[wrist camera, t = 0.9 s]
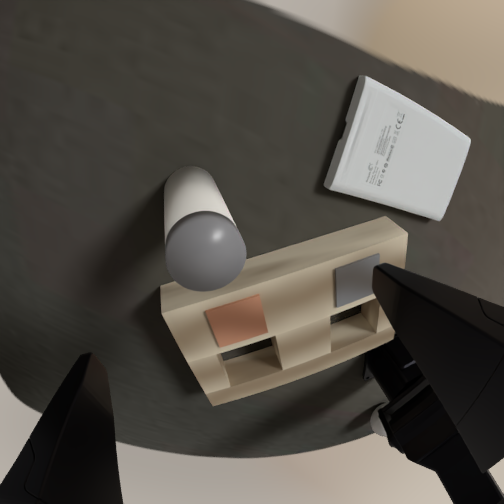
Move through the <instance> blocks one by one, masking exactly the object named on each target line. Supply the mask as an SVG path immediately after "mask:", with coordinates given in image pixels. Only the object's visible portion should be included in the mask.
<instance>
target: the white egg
mask: <svg viewBox="0 0 504 504" xmlns="http://www.w3.org/2000/svg"><path fill="white" fill-rule="evenodd" d="M388 403H389V402H388ZM388 403H384V404H381V405H379V406H378V407H377V408H376V409H375V410H374V411H373V413H372V416H371V418H370V424H371V427H372V430H373V431H374V432H375V433H376V434H378V435H380V436H385V437H387V435H386V432H385V430H384V427H383V425H382V423H381V421H380V419H379V417H378V416H379V413H378V411H377V410H379V409H380V408H383V407H384V406H385V405H387V404H388Z"/></svg>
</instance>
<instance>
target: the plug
mask: <svg viewBox="0 0 504 504" xmlns="http://www.w3.org/2000/svg"><path fill="white" fill-rule="evenodd" d="M164 225H165V256H166V266H167V269H168V272H169V274H170V275H171V277H172V278H173V279H174V280H175V281H176V282H177V283H178V284H179V285H181V286H183V287H184V288H187V289H189V290H193V291H200V292H206V291H213V290H217V289H220V288H222V287H224V286H226V285H228V284H229V283H231V282H232V281H233V280H234V279H235V278H236V277H237V276H238V275H239V274H240V272H241V271H242V269H243V267H244V264H245V261H246V247H245V244H244V241H243V239H242V237H241V235H240V233H239V231H238V229H237V227H236V225H235V223H234V221H233V219H232V217H231V214H230V212H229V210H228V208H227V206H226V204H225V202H224V200H223V198H222V196H221V194H220V192H219V190H218V188H217V186H216V184H215V182H214V180H213V178H212V176H211V175H210V174H209V173H208V172H207V171H206V170H204V169H202V168H200V167H196V166H186V167H182V168H180V169H178V170H176V171H175V172H173V173H172V174H171V175H170V176H169V178H168V179H167V181H166V184H165V187H164Z"/></svg>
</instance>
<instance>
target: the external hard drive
mask: <svg viewBox="0 0 504 504" xmlns="http://www.w3.org/2000/svg"><path fill="white" fill-rule="evenodd" d="M345 121H346V125H345V128H344V131H343V135H342V137H341V139H340V140H339V141H338V144H337V147H336V150H335V153H334V156H333V158H332V161H331V164H330V167H329V170H328V173H327V176H326V179H325V182H324V186H325V187H326V188H328V189H329V190H333V191H337V192H341V193H345V194H348V195H352V196H355V197H359V198H363V199H366V200H370V201H373V202H377V203H380V204H384V205H387V206H391V207H394V208H397V209H401V210H404V211H407V212H411V213H414V214H417V215H420V216H424V217H427V218H430V219H433V220H437V221H440V220H441V219H442V217H443V215H444V213H445V211H446V208H447V206H448V204H449V201H450V199H451V196H452V194H453V191H454V189H455V186H456V184H457V181H458V178H459V176H460V173H461V170H462V167H463V164H464V162H465V159H466V156H467V153H468V150H469V147H470V142H471V140H470V138H469V137H467V136H466V135H465V134H463V133H462V132H460V131H459V130H457V129H456V128H454V127H453V126H452V125H450V124H449V123H447V122H446V121H444V120H443V119H441V118H439V117H438V116H436V115H435V114H433V113H432V112H430V111H428V110H427V109H425V108H423V107H422V106H420V105H419V104H417V103H415V102H413V101H412V100H410V99H408V98H407V97H405V96H403V95H401V94H399V93H398V92H396V91H394V90H392V89H390V88H388V87H386V86H384V85H383V84H381V83H379V82H377V81H375V80H373V79H371V78H369V77H367V76H359V78H358V81H357V84H356V88H355V91H354V94H353V97H352V100H351V104H350V107H349V110H348V113H347V116H346V119H345Z"/></svg>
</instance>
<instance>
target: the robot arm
mask: <svg viewBox="0 0 504 504" xmlns="http://www.w3.org/2000/svg"><path fill="white" fill-rule="evenodd" d="M372 290H373V293H374V295H375V297H376V298H377V300H378V302H379V304H380V306H381V308H382V309H383V311H384V313H385V315H386V317H387V319H388V320H389V322H390V324H391V326H392V328H393V329H394V331H395V332H396V335H394V338H393V340H391V341H389V342H387V343H384V344H382V345H380V346H378V347H376V348H374V349H371V350H369V351H367V352H366V357H365V365H364V372H363V379H364V380H365V381H366V380H369V379H371V378H373V377H374V378H375V379H376V381H377V382H378V384H379V386H380V387H381V389H382V390H383V392H384V393H385V395H386V397H387V398H388V400H389V401H390V402H389V403H388V404H387V405H385V406H384V407H383V408H380V409H379V410H377V411H378V413H379V416H378V417H379V419H380V421H381V423H382V425H383V427H384V430H385V432H386V435H387V438H388V442H389V445H390V446H391V447H395V448H396V449H398V451H400V452H401V453H402V454H404V453H405V455H406V457H407V458H408V459H409V460H410V461H412V462H415V463H417V464H419V465H422V466H424V467H426V468H428V469H431V470H433V471H435V472H436V473H437V475H438V476H439V478H440V480H441V482H442V483H443V485H444V487H445V489H446V491H447V492H448V495H449V496H450V498H451V500H452V502H453V504H504V494H503V493H502V491H501V489H500V488H499V486H498V485H497V483H496V481H495V480H494V478H493V476H492V475H491V473H490V472H489V470H488V469H490V468H491V467H492V466H494V465H495V464H496V463H497V462H499V461H500V460H501V459H503V458H504V307H502V306H499V305H497V304H494V303H491V302H489V301H486V300H484V299H481V298H477V297H476V296H473V295H471V294H468V293H466V292H463V291H461V290H458V289H455V288H453V287H450V286H448V285H445V284H442V283H440V282H437V281H435V280H432V279H429V278H427V277H424V276H421V275H419V274H416V273H413V272H411V271H408V270H405V269H402V268H400V267H397V266H394V265H391V264H389V263H381V264H378V265H376V266H374V268H373V275H372ZM0 504H123V499H122V493H121V487H120V479H119V471H118V462H117V453H116V440H115V427H114V416H113V409H112V402H111V396H110V389H109V382H108V374H107V371H106V369H105V367H104V366H103V365H102V363H101V362H100V361H99V359H98V358H97V357H96V356H95V354H94V353H92V352H90V353H85V354H82V355H80V356H79V358H78V359H77V361H76V362H75V364H74V365H73V367H72V368H71V370H70V371H69V373H68V375H67V376H66V378H65V379H64V381H63V382H62V384H61V385H60V387H59V389H58V390H57V392H56V393H55V395H54V397H53V398H52V400H51V401H50V403H49V405H48V406H47V408H46V410H45V411H44V413H43V415H42V416H41V418H40V420H39V421H38V423H37V425H36V426H35V428H34V430H33V432H32V433H31V435H30V439H28V440H27V442H26V444H25V446H24V447H23V449H22V451H21V452H20V454H19V456H18V458H17V459H16V461H15V462H14V464H13V466H12V467H11V469H10V470H9V472H8V474H7V475H6V476H5V478H4V480H3V481H2V483H1V484H0Z"/></svg>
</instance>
